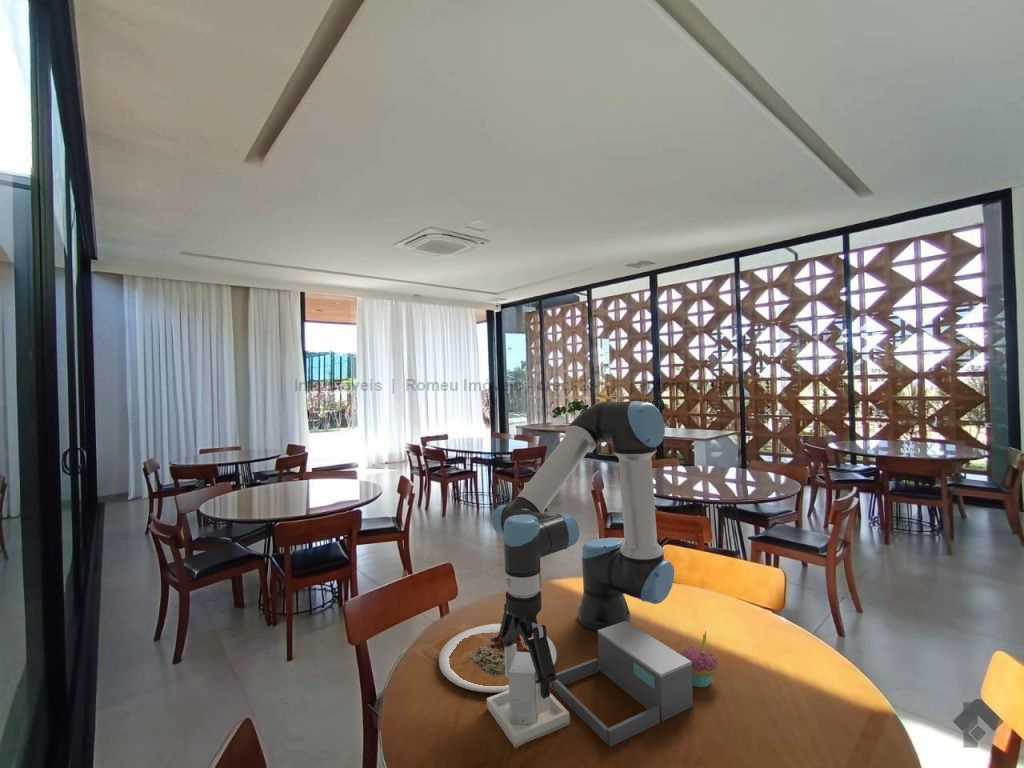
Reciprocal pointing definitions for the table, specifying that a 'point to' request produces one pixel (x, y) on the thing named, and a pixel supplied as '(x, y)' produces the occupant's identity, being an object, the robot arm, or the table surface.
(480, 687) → the plated food
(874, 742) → the table surface
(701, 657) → the cupcake
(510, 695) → the small box
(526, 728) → the tray
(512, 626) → the robot arm
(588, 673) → the printer
